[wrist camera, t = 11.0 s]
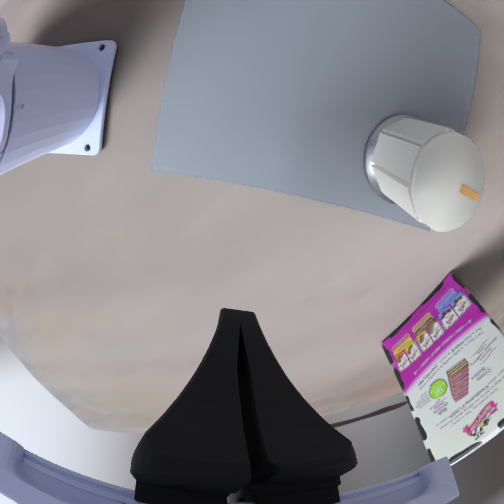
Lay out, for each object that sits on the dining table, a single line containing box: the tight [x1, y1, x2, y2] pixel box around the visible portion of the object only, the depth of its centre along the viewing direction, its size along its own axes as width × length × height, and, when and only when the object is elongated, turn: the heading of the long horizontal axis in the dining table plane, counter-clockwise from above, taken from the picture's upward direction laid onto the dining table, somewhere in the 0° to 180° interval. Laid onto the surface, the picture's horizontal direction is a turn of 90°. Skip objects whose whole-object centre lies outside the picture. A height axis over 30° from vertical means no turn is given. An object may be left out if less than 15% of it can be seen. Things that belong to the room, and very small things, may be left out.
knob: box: [371, 118, 485, 232], centre depth 14 cm, size 6×6×5 cm
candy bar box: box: [381, 273, 504, 466], centre depth 19 cm, size 11×5×16 cm, turn 147°
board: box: [151, 0, 481, 231], centre depth 13 cm, size 21×19×1 cm
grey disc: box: [363, 114, 423, 205], centre depth 15 cm, size 6×6×4 cm
